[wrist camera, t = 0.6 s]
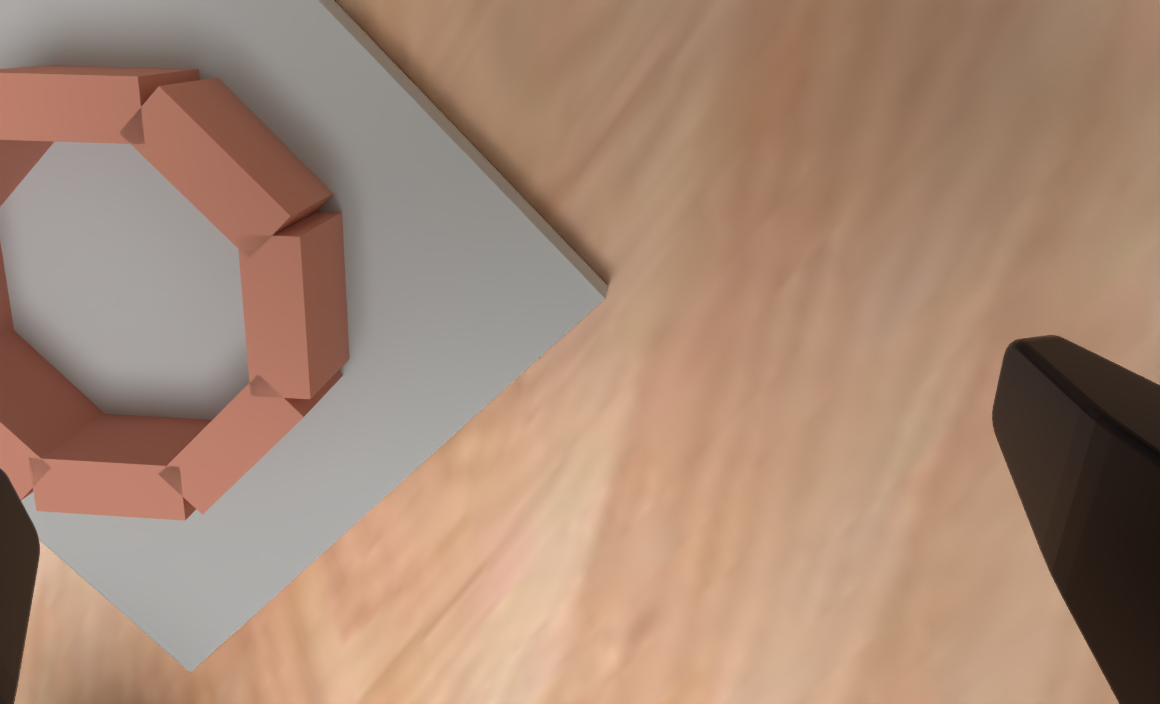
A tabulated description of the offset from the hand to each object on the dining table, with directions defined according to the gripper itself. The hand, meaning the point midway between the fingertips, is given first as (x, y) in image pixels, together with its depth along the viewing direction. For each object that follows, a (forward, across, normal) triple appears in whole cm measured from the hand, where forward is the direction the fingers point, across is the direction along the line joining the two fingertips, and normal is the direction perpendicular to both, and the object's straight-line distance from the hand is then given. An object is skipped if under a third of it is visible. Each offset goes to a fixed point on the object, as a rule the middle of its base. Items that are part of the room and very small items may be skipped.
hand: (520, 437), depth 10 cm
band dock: (+14, +8, +6) cm, 17 cm away
